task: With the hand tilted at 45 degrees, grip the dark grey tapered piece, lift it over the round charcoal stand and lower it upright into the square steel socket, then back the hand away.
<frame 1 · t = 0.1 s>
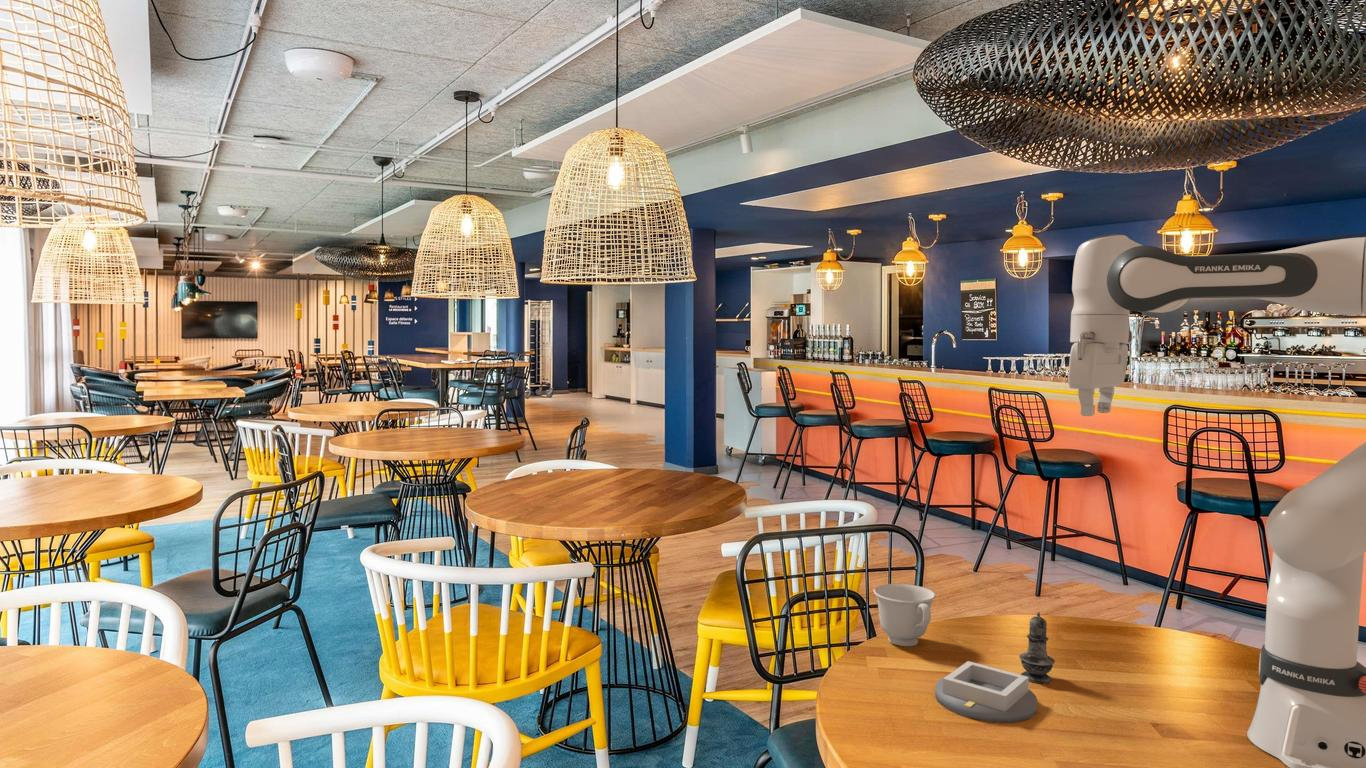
hand: (1095, 414, 145), 48 cm above the table, tool pointing down, fingers open, 8 cm apart
teacup: (906, 644, 169), on the table
dark grey tapered piece: (1036, 679, 153), on the table
socket stand: (985, 701, 143), on the table
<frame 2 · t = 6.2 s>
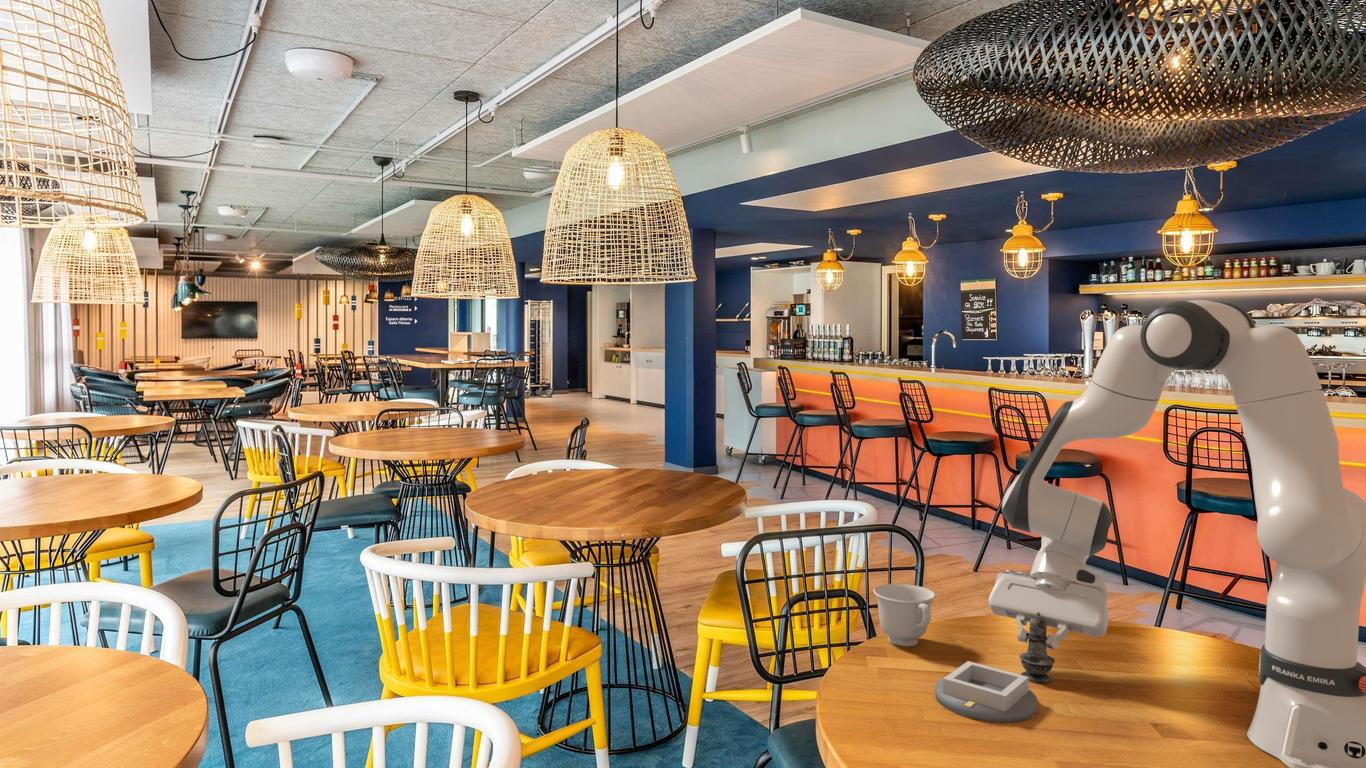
hand: (1036, 643, 152), 6 cm above the table, tool tilted 45°, fingers closed on dark grey tapered piece, 4 cm apart
dark grey tapered piece: (1036, 679, 153), on the table, touching gripper
everything else where it was.
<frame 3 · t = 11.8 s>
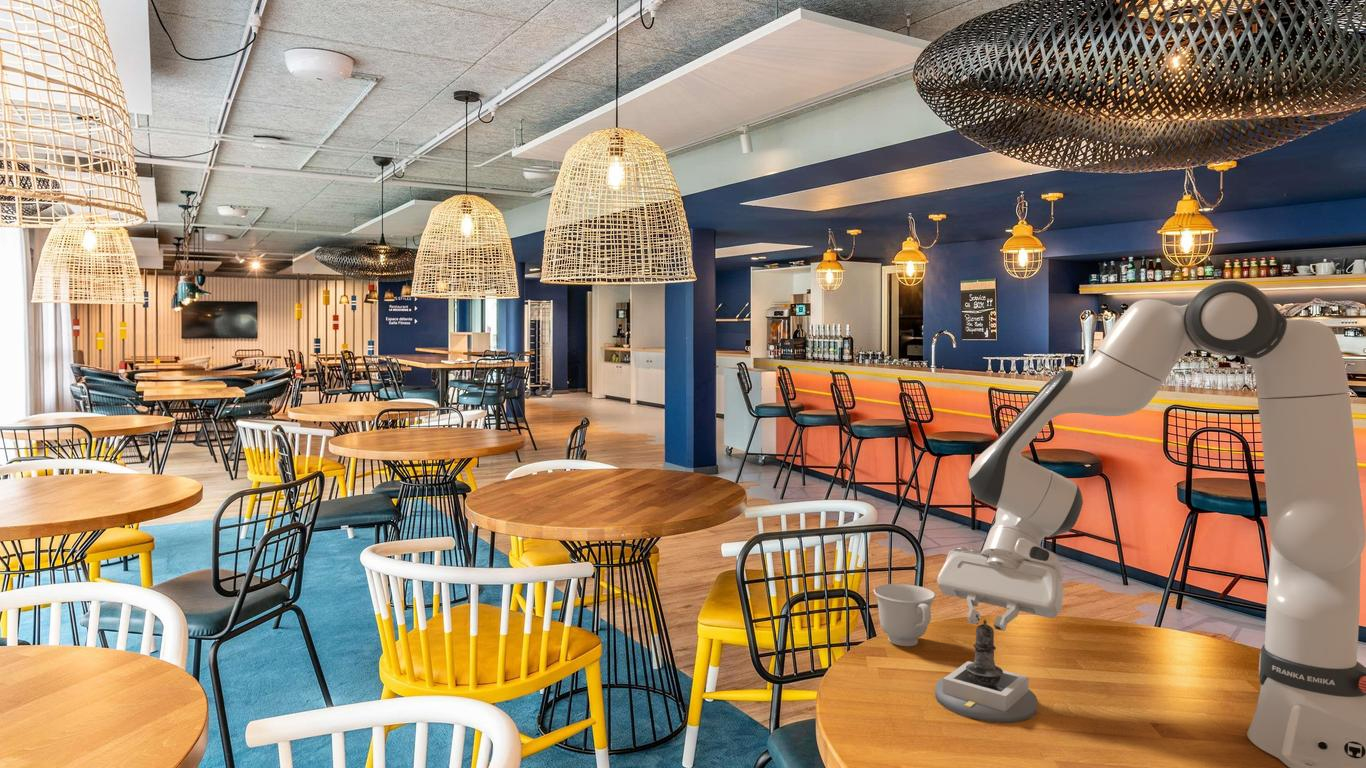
hand: (985, 625, 141), 13 cm above the table, tool tilted 45°, fingers open, 3 cm apart
dark grey tapered piece: (983, 691, 143), point 1 cm above the table, touching gripper, socket stand
everything else where it was.
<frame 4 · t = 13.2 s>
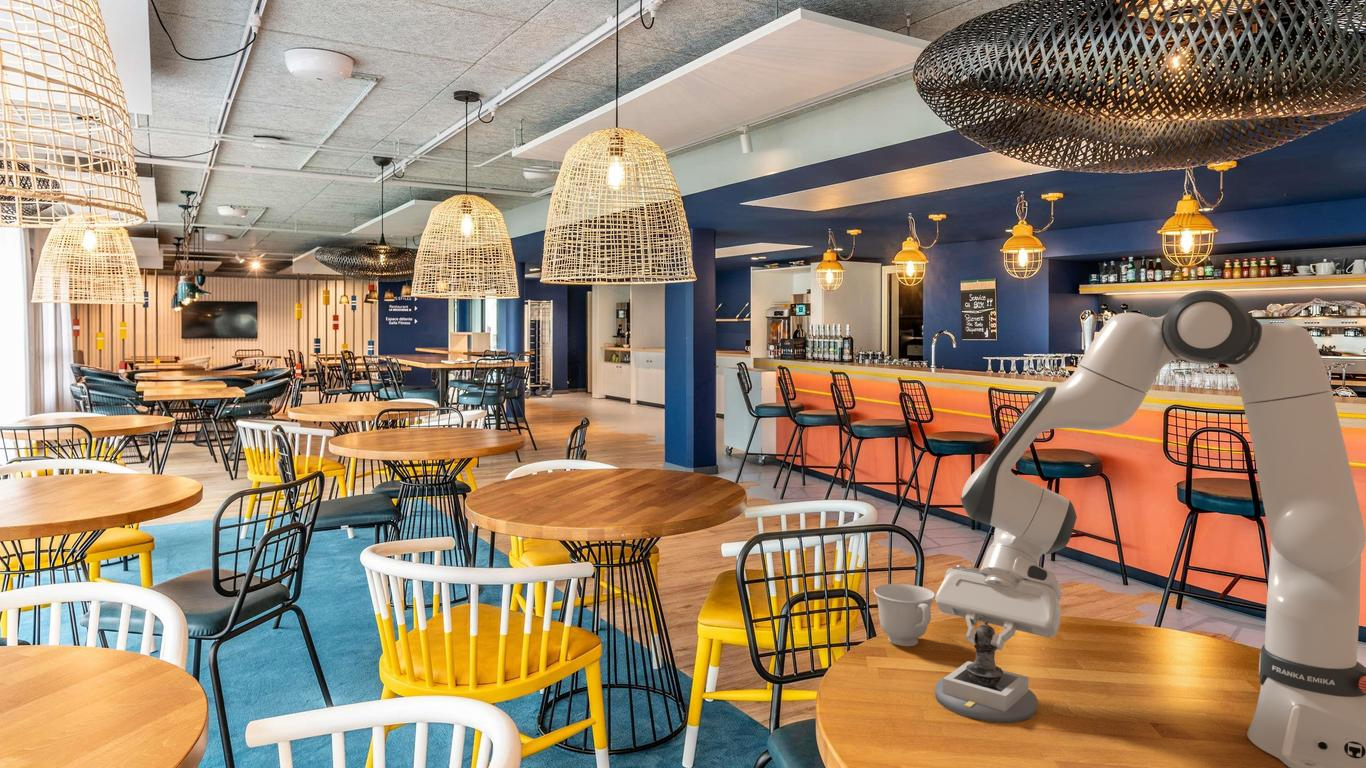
hand: (983, 644, 142), 10 cm above the table, tool tilted 45°, fingers closed on dark grey tapered piece, 3 cm apart
dark grey tapered piece: (983, 691, 143), point 1 cm above the table, touching gripper, socket stand
everything else where it was.
when the fingers open (10 cm above the table, at t = 13.3 s): dark grey tapered piece stays where it is, resting on socket stand.
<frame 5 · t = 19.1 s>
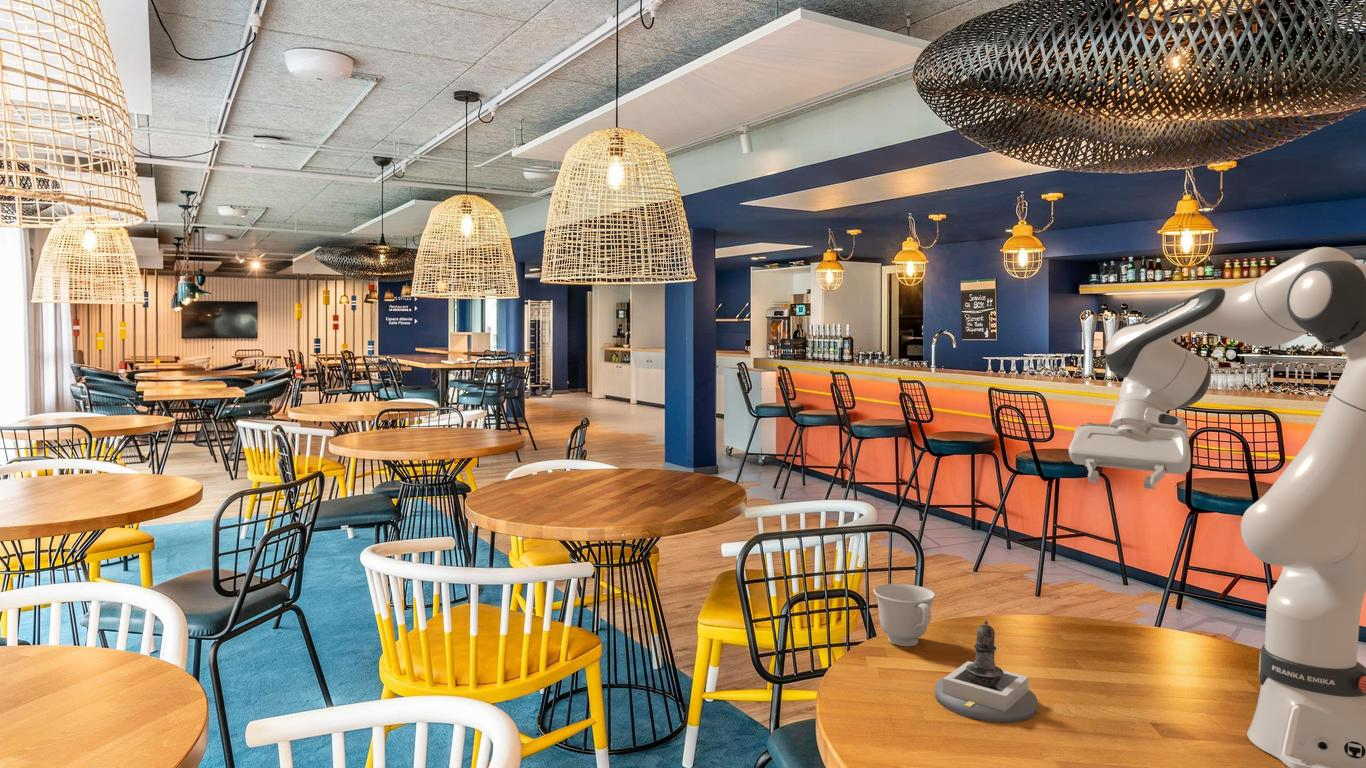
hand: (1119, 483, 156), 34 cm above the table, tool tilted 45°, fingers open, 8 cm apart
dark grey tapered piece: (983, 691, 143), point 1 cm above the table, touching socket stand
everything else where it was.
at the end: dark grey tapered piece 0.8 cm off-centre on the socket stand, point 1.3 cm above the socket stand's base; dark grey tapered piece tilted 0°; the gripper is holding nothing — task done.
